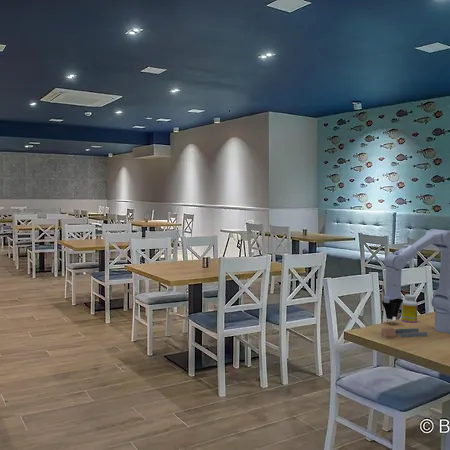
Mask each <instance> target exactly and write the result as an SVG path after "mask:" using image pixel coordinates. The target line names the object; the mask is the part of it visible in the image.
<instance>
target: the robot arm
mask: <svg viewBox="0 0 450 450" xmlns="http://www.w3.org/2000/svg"><path fill="white" fill-rule="evenodd" d="M430 245H433V246H435V247H436V248H437V249H438V250H439V251H440V252H441V254H440V255H441V256H440V265H439V266H440V269H439V281H438V288H436V289H435V290H434V291H433V297H432V298H431V305H432V306H431V307H433V311H435V312H434V313H435V315H434V330H435V331H438V332H440V333H446V334H449V335H450V230H446V229H445V230H444V229H436V228H431V229H429V230H427V231H425V234H424V235H423V236H422V237H421V238H419V239H418V240H416V241H415V242H414V243H412V244H404V245H402V247H401V248H400V249H398V250H395V251H394V253H389V254H387V255H386V256H385V257H384V260H383V265H384V267H385V272H386V274H385V277H386V278H385V294H384V296H383V300H381V304H382V306H383V308H384V311H385V317H386V319H388V320H391V319H392V320H393V318H397V317H398V315H399V311H400V309H401V307H402V302H403V300H404V299H403V298H404V295H402V292H401V291H402V290H401V289H402V273H403V272H402V270H403V269H404V268H405V266H406V264H407V263H408V262H410V261H411V260H412V259H414V258H415V257H417V256H418V252H420V251H422V250H423V249H425V248H427V247H429V246H430ZM400 306H401V307H400Z"/></svg>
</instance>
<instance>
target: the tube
mask: <svg viewBox="0 0 450 450" xmlns="http://www.w3.org/2000/svg"><path fill="white" fill-rule="evenodd" d="M394 329H395V330H396V332H395V335H398V336H400V337H401V338H415V337H416V338H417V337H428V331H422V332H421V331H419V330H420V328H418V327H417V328H415V327H413V328H412V327H411V328H410V327H409V328H394Z"/></svg>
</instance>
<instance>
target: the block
mask: <svg viewBox="0 0 450 450" xmlns="http://www.w3.org/2000/svg"><path fill="white" fill-rule="evenodd" d="M395 329H396V328H393V327H390V326H388V327H381V329H380V330H381V331H380V332H381V335H382V336H384V337H386V338H390V337H391V338H393V337H396V334H395V332H396V330H395Z"/></svg>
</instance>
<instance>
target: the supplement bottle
mask: <svg viewBox="0 0 450 450" xmlns="http://www.w3.org/2000/svg"><path fill="white" fill-rule="evenodd" d="M416 299H417V298H416V295H414V294H409V293H407V294H404V299H403V302H402V304H401V316H400V321H401V322H404V323H408V324H415V323H418V306H419V305H418V302H417V301H416Z"/></svg>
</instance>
